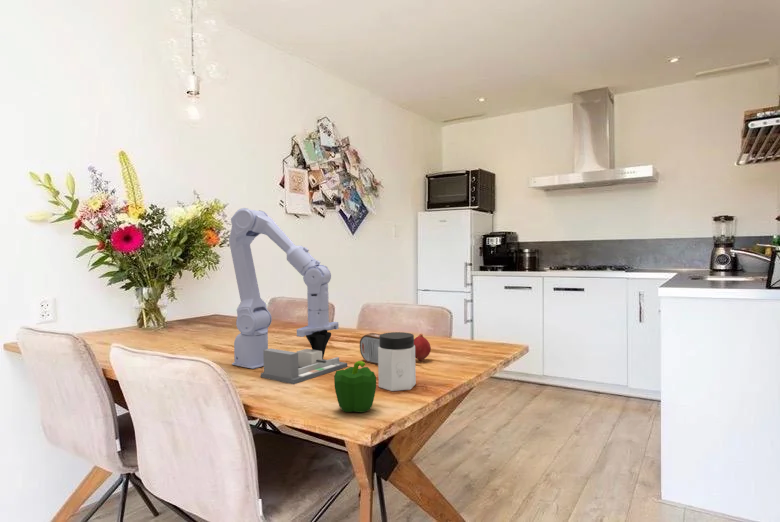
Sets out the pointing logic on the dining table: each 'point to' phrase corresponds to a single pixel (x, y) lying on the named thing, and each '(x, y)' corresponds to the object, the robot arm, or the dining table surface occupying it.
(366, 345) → the tin
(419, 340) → the onion
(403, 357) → the jar
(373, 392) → the bell pepper
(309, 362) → the slider
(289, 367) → the gauge rail
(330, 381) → the dining table surface
